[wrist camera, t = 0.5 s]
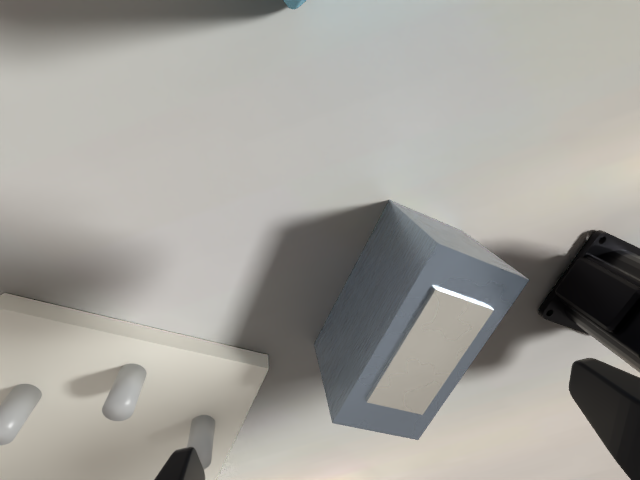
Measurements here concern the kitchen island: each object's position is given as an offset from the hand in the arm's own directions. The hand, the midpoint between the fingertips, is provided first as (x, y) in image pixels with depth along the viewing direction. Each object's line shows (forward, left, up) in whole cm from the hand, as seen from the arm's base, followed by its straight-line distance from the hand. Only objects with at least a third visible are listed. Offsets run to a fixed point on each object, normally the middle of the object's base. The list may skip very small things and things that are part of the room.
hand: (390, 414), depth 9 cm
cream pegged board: (+6, +18, -13) cm, 23 cm away
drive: (-6, +2, -13) cm, 14 cm away
